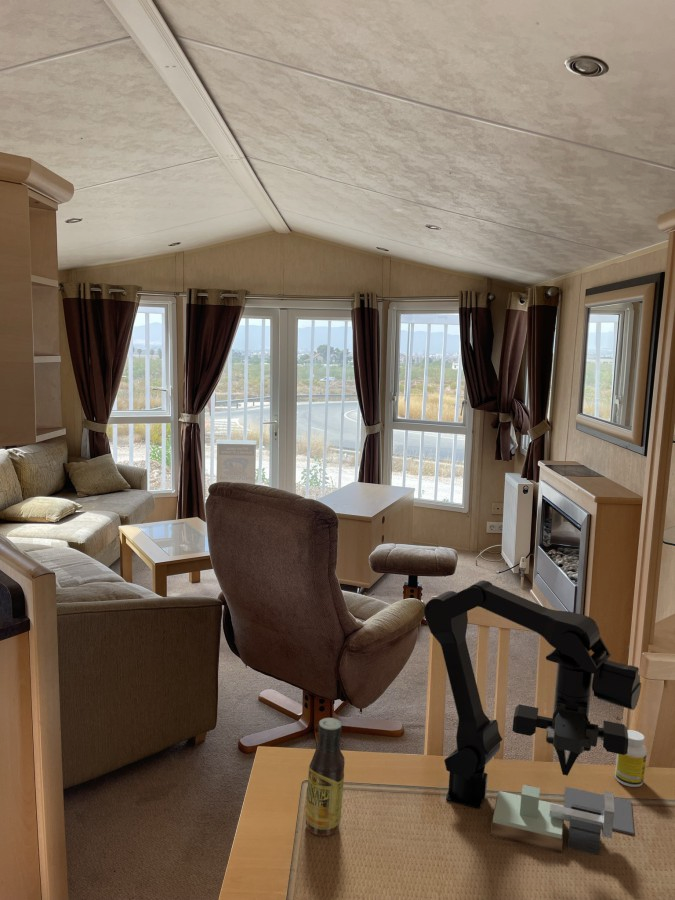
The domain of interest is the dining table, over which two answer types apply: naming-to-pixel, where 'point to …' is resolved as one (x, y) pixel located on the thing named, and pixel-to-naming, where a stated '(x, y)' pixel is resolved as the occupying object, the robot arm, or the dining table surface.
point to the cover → (527, 812)
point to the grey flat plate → (595, 801)
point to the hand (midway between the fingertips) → (565, 774)
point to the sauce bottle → (325, 781)
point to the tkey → (590, 814)
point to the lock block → (584, 831)
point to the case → (526, 836)
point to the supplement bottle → (632, 761)
